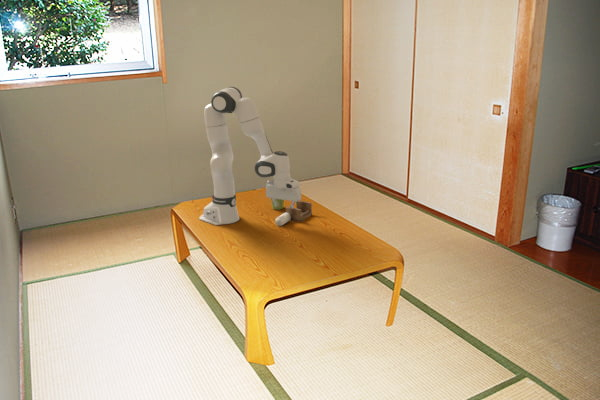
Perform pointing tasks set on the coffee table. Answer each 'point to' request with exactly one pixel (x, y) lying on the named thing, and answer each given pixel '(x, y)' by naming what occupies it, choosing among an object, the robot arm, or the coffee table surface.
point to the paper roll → (283, 219)
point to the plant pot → (278, 203)
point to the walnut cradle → (300, 211)
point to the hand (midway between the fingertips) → (284, 207)
